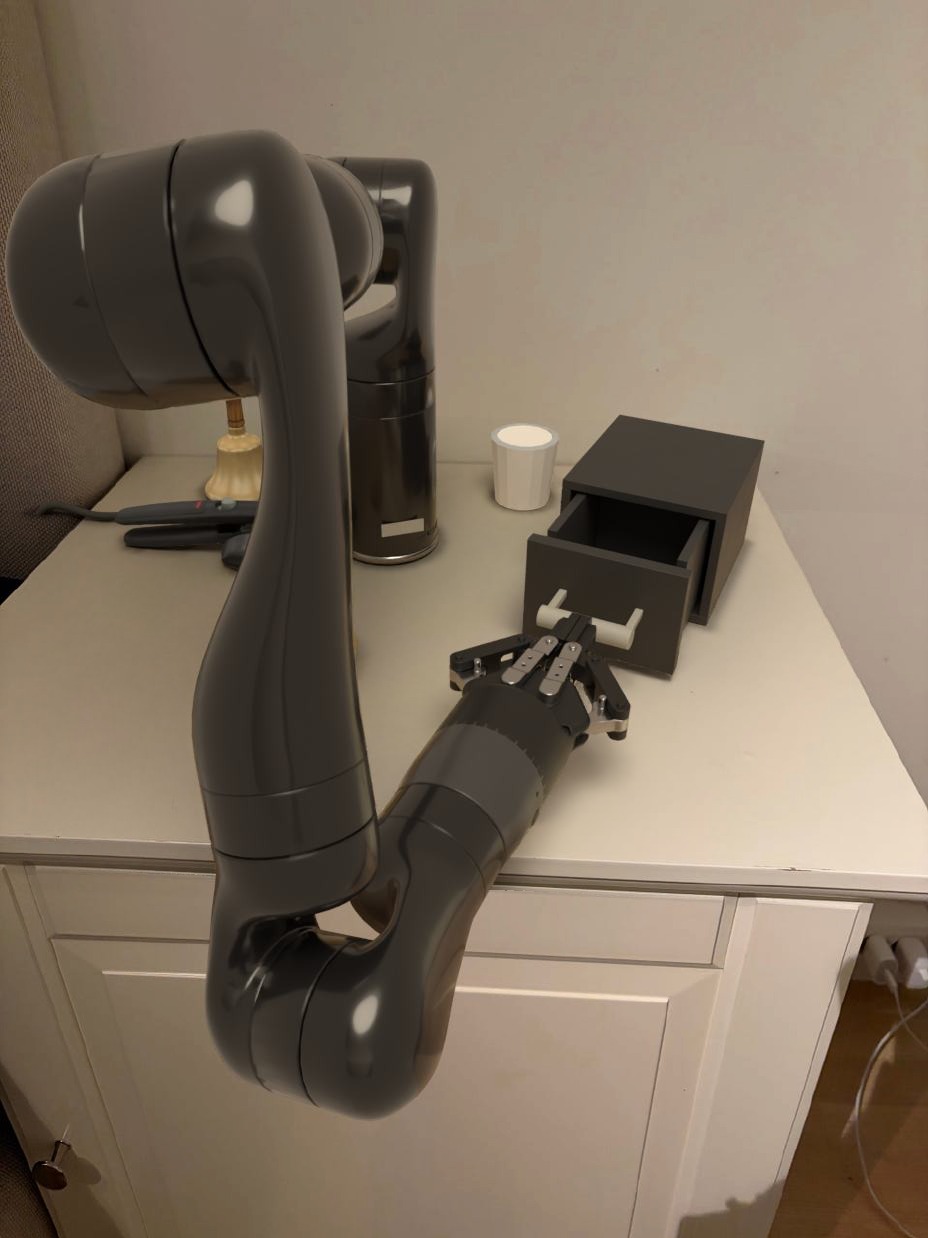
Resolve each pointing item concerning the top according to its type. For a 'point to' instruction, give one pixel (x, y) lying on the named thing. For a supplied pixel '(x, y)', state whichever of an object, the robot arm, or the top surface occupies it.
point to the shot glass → (523, 464)
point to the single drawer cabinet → (677, 483)
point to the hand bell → (236, 460)
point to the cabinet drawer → (619, 576)
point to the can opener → (192, 525)
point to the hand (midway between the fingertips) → (581, 625)
